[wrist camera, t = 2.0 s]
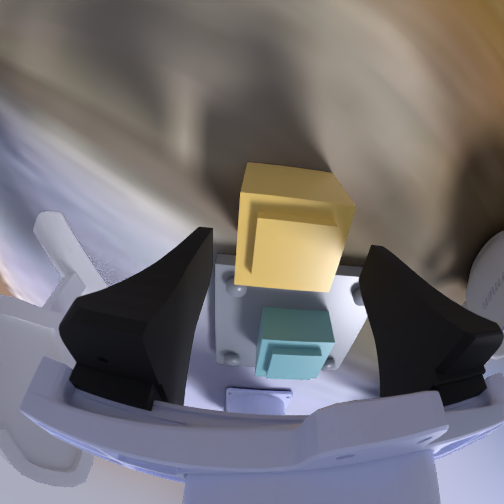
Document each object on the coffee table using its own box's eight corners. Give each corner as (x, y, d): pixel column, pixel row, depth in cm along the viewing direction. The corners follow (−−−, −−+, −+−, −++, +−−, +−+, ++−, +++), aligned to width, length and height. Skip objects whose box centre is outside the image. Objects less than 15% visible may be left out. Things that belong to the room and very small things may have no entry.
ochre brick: (316, 244, 18) (330, 300, 13) (241, 236, 18) (232, 292, 13) (332, 173, 15) (359, 212, 11) (247, 162, 15) (239, 197, 11)
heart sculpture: (143, 330, 24) (90, 504, 9) (108, 334, 25) (54, 483, 10) (50, 191, 16) (-103, 372, 1) (22, 212, 17) (-99, 363, 2)
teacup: (526, 192, 14) (581, 241, 7) (521, 272, 18) (555, 320, 12) (417, 262, 18) (462, 341, 12) (430, 331, 23) (455, 393, 17)
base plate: (335, 359, 26) (341, 400, 22) (217, 353, 25) (211, 395, 21) (380, 268, 19) (402, 315, 15) (217, 253, 19) (205, 303, 15)
